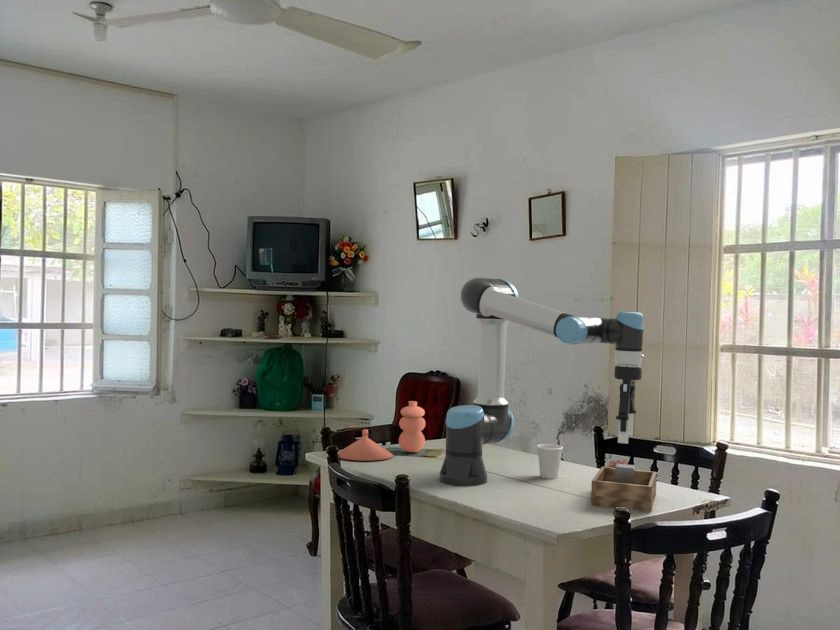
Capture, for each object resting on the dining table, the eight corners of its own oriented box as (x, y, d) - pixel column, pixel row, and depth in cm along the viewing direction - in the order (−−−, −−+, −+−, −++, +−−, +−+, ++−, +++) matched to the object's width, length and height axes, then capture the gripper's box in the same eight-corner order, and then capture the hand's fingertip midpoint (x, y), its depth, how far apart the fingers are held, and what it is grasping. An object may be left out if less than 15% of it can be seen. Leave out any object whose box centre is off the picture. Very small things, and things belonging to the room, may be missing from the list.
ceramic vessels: (349, 462, 259) (350, 408, 259) (327, 451, 277) (328, 400, 277) (436, 455, 275) (438, 404, 275) (410, 445, 294) (411, 397, 294)
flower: (640, 470, 235) (626, 452, 234) (636, 491, 228) (621, 472, 227) (614, 479, 241) (600, 461, 240) (609, 499, 234) (595, 481, 232)
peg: (614, 501, 213) (615, 466, 213) (616, 497, 218) (617, 463, 218) (632, 503, 211) (633, 468, 211) (634, 499, 216) (635, 465, 216)
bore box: (591, 505, 208) (591, 480, 207) (601, 489, 227) (601, 466, 227) (651, 512, 202) (651, 487, 202) (656, 495, 221) (656, 472, 221)
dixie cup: (541, 472, 249) (542, 442, 249) (565, 476, 245) (566, 445, 245) (532, 477, 242) (532, 446, 242) (556, 480, 238) (557, 449, 238)
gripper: (638, 369, 201) (635, 447, 202) (645, 363, 225) (642, 433, 225) (609, 367, 204) (606, 445, 204) (619, 362, 227) (616, 431, 227)
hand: (625, 439), depth 214 cm, fingers open, 13 cm apart
